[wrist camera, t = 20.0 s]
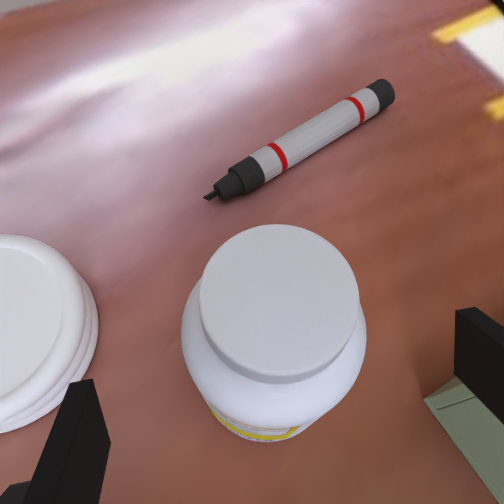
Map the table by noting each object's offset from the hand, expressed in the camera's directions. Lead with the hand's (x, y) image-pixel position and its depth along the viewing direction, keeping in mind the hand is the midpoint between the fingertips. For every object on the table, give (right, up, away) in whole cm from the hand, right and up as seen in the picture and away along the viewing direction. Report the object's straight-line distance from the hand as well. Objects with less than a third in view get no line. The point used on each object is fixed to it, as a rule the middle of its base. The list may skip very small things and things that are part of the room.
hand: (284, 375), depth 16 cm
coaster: (-15, -1, +9) cm, 17 cm away
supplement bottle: (-1, -2, +9) cm, 9 cm away
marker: (+2, +11, +15) cm, 19 cm away
